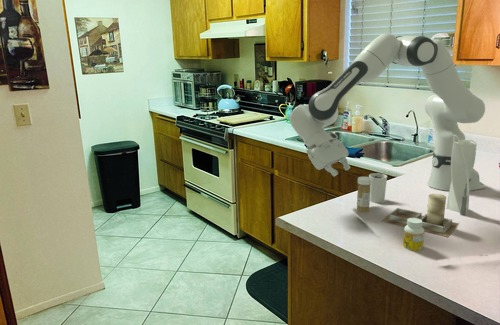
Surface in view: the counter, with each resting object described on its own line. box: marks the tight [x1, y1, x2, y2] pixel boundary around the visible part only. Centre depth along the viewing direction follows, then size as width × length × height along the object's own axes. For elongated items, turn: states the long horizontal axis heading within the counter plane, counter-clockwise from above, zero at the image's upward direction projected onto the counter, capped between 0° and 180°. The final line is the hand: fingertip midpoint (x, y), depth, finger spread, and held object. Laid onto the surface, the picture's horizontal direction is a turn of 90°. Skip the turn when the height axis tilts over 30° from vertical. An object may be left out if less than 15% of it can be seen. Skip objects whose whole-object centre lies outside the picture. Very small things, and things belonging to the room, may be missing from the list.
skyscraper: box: [445, 135, 477, 217], centre depth 139 cm, size 8×8×28 cm
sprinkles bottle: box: [356, 176, 371, 213], centre depth 143 cm, size 5×5×14 cm
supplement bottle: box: [402, 218, 425, 252], centre depth 115 cm, size 5×5×10 cm
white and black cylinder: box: [368, 172, 388, 204], centre depth 156 cm, size 7×7×10 cm
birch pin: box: [426, 193, 447, 227], centre depth 128 cm, size 5×5×10 cm
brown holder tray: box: [380, 207, 460, 238], centre depth 132 cm, size 21×13×3 cm, turn 50°
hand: (342, 172), depth 147 cm, fingers open, 8 cm apart
